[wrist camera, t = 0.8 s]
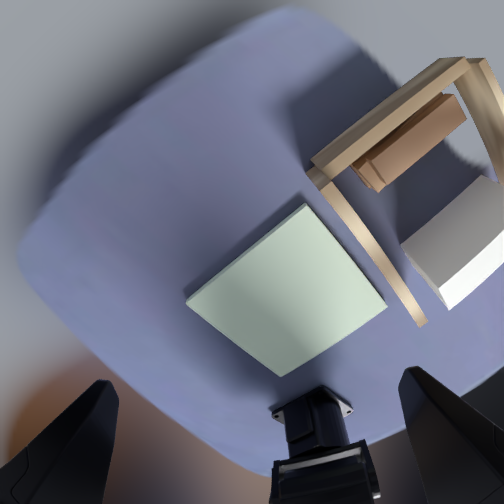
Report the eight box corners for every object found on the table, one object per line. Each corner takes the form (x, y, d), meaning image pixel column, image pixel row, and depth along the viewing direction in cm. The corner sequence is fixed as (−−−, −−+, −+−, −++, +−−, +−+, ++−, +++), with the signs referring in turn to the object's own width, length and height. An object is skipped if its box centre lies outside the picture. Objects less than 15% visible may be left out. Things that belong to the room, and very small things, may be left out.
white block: (489, 197, 20) (537, 227, 15) (412, 265, 23) (449, 310, 18) (480, 174, 20) (531, 200, 14) (399, 244, 22) (438, 288, 17)
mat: (385, 302, 24) (387, 306, 24) (280, 372, 27) (280, 377, 27) (305, 202, 20) (306, 205, 20) (186, 299, 24) (185, 303, 23)
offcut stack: (446, 111, 18) (471, 116, 15) (365, 185, 20) (382, 199, 18) (428, 83, 17) (453, 84, 14) (343, 159, 19) (359, 169, 17)
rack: (511, 198, 20) (541, 216, 17) (399, 297, 24) (419, 327, 21) (445, 53, 16) (481, 50, 12) (300, 167, 19) (313, 183, 16)
